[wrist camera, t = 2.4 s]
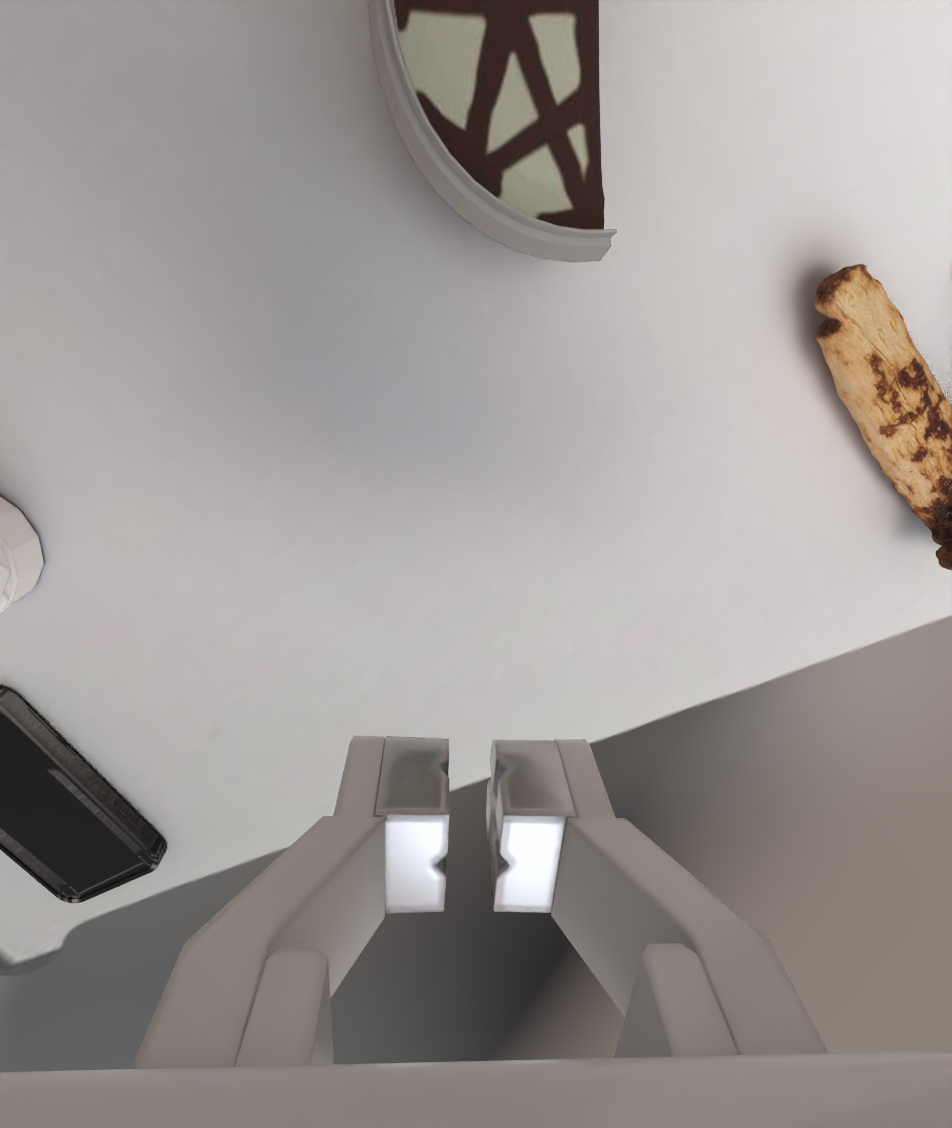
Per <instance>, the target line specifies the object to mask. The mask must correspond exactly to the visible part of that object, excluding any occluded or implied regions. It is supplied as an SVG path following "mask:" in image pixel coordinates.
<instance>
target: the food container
mask: <svg viewBox="0 0 952 1128" xmlns="http://www.w3.org/2000/svg"><path fill="white" fill-rule="evenodd" d="M368 9H369V19H370V30H371V40H372V47H373V52H374V56H375V61H376V65H377V70H378V74H379V79H380V83H381V87H382V90H383V93H384V96H385V99H386V101H387V104H388V107H389V110H390V112H391V115H392V118H393V121H394V124H395V126H396V128H397V130H398V132H399V134H400V136H401V138H402V140H403V142H404V144H405V145H406V147H407V149H408V151H409V153H410V155H411V157H412V159H413V161H414V162H415V164H416V165H417V166H418V168H419V169H420V171H421V172H422V173H423V175H424V176H425V178H426V179H427V180H428V182H429V183H430V185H431V186H432V187H433V189H434V190H435V191H436V192H437V193H438V194H439V195H440V196H441V198H442V199H443V200H444V201H445V202H446V203H447V204H448V205H449V206H450V207H451V208H452V209H453V210H454V211H455V212H456V213H457V214H458V215H459V216H460V217H462V218H463V219H464V220H466V221H467V222H468V223H470V224H471V225H472V226H474V227H475V228H476V229H478V230H479V231H480V232H482V233H483V234H484V235H486V236H488V237H490V238H492V239H494V240H496V241H498V242H499V243H501V244H503V245H505V246H507V247H509V248H511V249H513V250H516V251H519V252H523V253H526V254H529V255H532V256H535V257H539V258H542V259H549V260H557V261H565V262H591V261H600V260H601V259H602V257H603V256H604V255H605V253H606V252H607V251H608V249H609V248H610V247H611V237H612V236H613V235H614V234H615V233H617V229H607V230H603V229H604V194H603V188H602V173H601V141H600V98H599V0H368Z"/></svg>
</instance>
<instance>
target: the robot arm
mask: <svg viewBox="0 0 952 1128" xmlns="http://www.w3.org/2000/svg"><path fill="white" fill-rule="evenodd" d="M448 765H449V739H441V738H416V737H391V736H387V737H380V736H354V737H353V738H352V740H351V742H350V746H349V750H348V754H347V759H346V763H345V767H344V772H343V776H342V780H341V785H340V789H339V793H338V798H337V802H336V806H335V811H334V815H333V816H323V817H322V818H321V819H320V820H319V821H317V822H316V823H315V824H314V825H313V826H312V827H311V828H310V829H309V830H308V831H307V832H305V833H304V834H303V835H302V836H301V837H300V838H299V839H298V840H297V841H296V842H295V843H293V844H292V845H291V846H290V847H289V848H288V849H287V850H286V851H285V852H284V853H283V854H281V855H280V856H279V857H278V858H277V859H276V860H275V861H274V862H273V863H272V864H271V865H269V866H268V867H267V868H266V869H265V870H264V871H263V872H262V873H261V874H260V875H259V876H258V877H256V878H255V879H254V880H253V881H252V882H251V883H250V884H249V885H248V886H247V887H246V888H244V889H243V890H242V891H241V892H240V893H239V894H238V895H237V896H236V897H235V898H234V899H232V900H231V901H230V902H229V903H228V904H227V905H226V906H225V907H224V908H223V909H222V910H220V912H218V913H217V914H216V915H215V916H214V917H213V918H212V919H211V920H210V921H209V922H207V923H206V924H205V925H204V926H203V927H202V928H201V929H200V930H199V931H198V932H196V933H195V934H194V935H193V936H192V937H191V938H190V939H189V940H188V941H187V942H186V943H185V944H184V946H183V948H182V950H181V953H180V955H179V957H178V960H177V962H176V964H175V967H174V969H173V971H172V974H171V976H170V978H169V981H168V983H167V985H166V988H165V990H164V992H163V995H162V997H161V999H160V1002H159V1004H158V1006H157V1009H156V1011H155V1013H154V1016H153V1018H152V1020H151V1023H150V1025H149V1027H148V1030H147V1032H146V1034H145V1037H144V1039H143V1041H142V1044H141V1046H140V1048H139V1051H138V1053H137V1055H136V1058H135V1060H134V1062H133V1065H132V1067H131V1069H124V1070H81V1071H39V1072H0V1128H952V1050H933V1051H891V1052H890V1051H889V1052H888V1051H887V1052H844V1053H829V1052H828V1050H827V1048H826V1047H825V1044H824V1043H823V1041H822V1039H821V1037H820V1035H819V1033H818V1032H817V1029H816V1027H815V1026H814V1024H813V1022H812V1020H811V1018H810V1016H809V1015H808V1012H807V1010H806V1009H805V1007H804V1005H803V1003H802V1001H801V999H800V997H799V995H798V993H797V992H796V990H795V988H794V986H793V984H792V982H791V980H790V978H789V977H788V975H787V973H786V971H785V969H784V967H783V965H782V963H781V961H780V960H779V958H778V956H777V954H776V952H775V950H774V948H773V946H772V944H771V942H770V941H769V940H768V939H767V938H766V937H765V936H764V935H762V934H761V933H760V932H759V931H758V930H757V929H755V928H754V927H753V926H752V925H751V924H749V923H748V922H747V921H746V920H745V919H744V918H742V917H741V916H740V915H739V914H738V913H736V912H735V911H734V910H733V909H732V908H730V907H729V906H728V905H727V904H726V903H725V902H723V901H722V900H721V899H720V898H719V897H717V896H716V895H715V894H714V893H713V892H712V891H710V890H709V889H708V888H707V887H706V886H704V885H703V884H702V883H701V882H700V881H698V880H697V879H696V878H695V877H694V876H692V875H691V874H690V873H689V872H688V871H687V870H685V869H684V868H683V867H682V866H681V865H679V864H678V863H677V862H676V861H675V860H674V859H672V858H671V857H670V856H669V855H668V854H667V853H665V852H664V851H663V850H662V849H661V848H659V847H658V846H657V845H656V844H655V843H654V842H652V841H651V840H650V839H649V838H648V837H646V836H645V835H644V834H643V833H642V832H640V831H639V830H638V829H637V828H636V827H635V826H633V825H632V824H631V823H630V822H629V821H627V820H626V819H622V818H619V819H618V818H615V815H614V813H613V810H612V807H611V804H610V801H609V799H608V796H607V793H606V790H605V787H604V785H603V782H602V779H601V776H600V774H599V770H598V768H597V765H596V762H595V759H594V757H593V754H592V751H591V748H590V745H589V743H588V742H587V741H586V740H585V739H581V740H554V741H552V740H493V741H492V746H491V755H490V765H491V776H492V778H491V779H490V780H489V782H488V789H487V810H486V811H487V812H486V821H487V837H488V845H489V846H490V847H491V848H492V855H491V867H490V874H491V885H492V896H493V905H494V911H514V912H515V911H517V912H552V917H553V918H554V920H555V921H556V923H557V924H558V925H559V927H560V928H561V930H562V931H563V932H564V933H565V935H566V936H567V938H568V939H569V941H570V942H571V943H572V945H573V946H574V948H575V949H576V950H577V952H578V953H579V954H580V956H581V957H582V959H583V960H584V961H585V963H586V964H587V965H588V967H589V968H590V970H591V971H592V972H593V974H594V975H595V976H596V978H597V979H598V981H599V982H600V983H601V985H602V986H603V988H604V989H605V990H606V992H607V993H608V994H609V996H610V997H611V999H612V1000H613V1001H614V1003H615V1004H616V1005H617V1007H618V1008H619V1009H620V1011H621V1012H622V1014H623V1015H624V1016H625V1021H624V1024H623V1028H622V1032H621V1036H620V1040H619V1043H618V1047H617V1051H616V1054H615V1058H597V1059H595V1058H594V1059H554V1060H515V1061H514V1060H510V1061H467V1062H425V1063H382V1064H341V1065H334V1064H333V1045H332V1024H331V1006H330V998H331V996H332V995H333V993H334V992H335V990H336V989H337V987H338V986H339V984H340V983H341V982H342V980H343V979H344V977H345V975H346V974H347V973H348V971H349V970H350V968H351V966H352V965H353V964H354V962H355V960H356V959H357V958H358V956H359V954H360V953H361V952H362V950H363V949H364V947H365V946H366V944H367V943H368V941H369V940H370V938H371V936H372V935H373V933H374V932H375V931H376V929H377V927H378V926H379V925H380V923H381V922H382V920H383V919H384V914H385V913H405V912H433V911H444V896H445V882H446V854H447V849H448V829H449V777H448Z"/></svg>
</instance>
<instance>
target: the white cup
mask: <svg viewBox="0 0 952 1128" xmlns="http://www.w3.org/2000/svg"><path fill="white" fill-rule="evenodd" d="M43 565H44V562H43V557H42V552H41V547H40V542H39V537H38V535H37V534H36V532H35V531H34V529H33V528H32V527H31V525H30V524H29V522H28V521H27V519H26V518H25V517H24V515H23V514H22V512H21V511H20V510H19V509H18V508H16V507H15V506H13V505H12V504H10V503H9V502H8V501H6V500H5V499H3V498H2V497H0V613H1V612H3V611H4V610H5V609H6V608H7V607H8V606H10V605H11V604H13V603H14V602H15V601H17V600H18V599H20V598H21V597H22V596H24V595H25V594H27V593H28V592H29V591H31V590H32V589H34V588H35V586H36V584H37V581H38V578H39V575H40V573H41V570H42V567H43Z"/></svg>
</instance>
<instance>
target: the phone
mask: <svg viewBox="0 0 952 1128" xmlns="http://www.w3.org/2000/svg"><path fill="white" fill-rule="evenodd" d="M166 848H167V847H166V844H165V842H164V841H163V839H162V838H161V837H160V836H159V835H158V834H157V833H156V832H155V831H154V830H153V829H152V828H151V827H150V826H149V825H148V824H147V823H146V822H145V821H144V820H143V819H142V818H140V817H139V816H138V815H137V814H136V813H135V812H134V811H133V810H132V809H131V808H130V807H129V806H128V805H127V804H126V803H125V802H124V801H123V800H122V799H121V798H120V797H119V796H118V795H117V794H116V793H115V792H114V791H113V790H112V789H111V788H110V787H109V786H108V785H107V784H106V783H105V782H104V781H103V780H102V779H101V778H100V777H99V776H98V775H97V774H96V773H95V772H94V771H93V770H92V769H91V768H90V767H89V766H88V765H87V764H86V763H85V762H84V761H83V760H82V759H81V758H80V757H79V756H78V755H77V754H76V753H75V752H74V751H73V750H72V749H71V748H70V747H69V746H68V745H67V744H66V743H65V742H64V741H63V740H62V739H61V738H60V737H59V736H58V735H57V734H56V733H55V732H54V731H53V730H52V729H51V728H50V727H49V726H48V725H47V724H46V723H45V722H44V721H43V720H42V719H41V718H40V717H39V716H38V715H37V714H36V713H35V712H34V711H33V710H32V709H31V708H30V707H29V706H28V705H27V704H26V703H25V702H24V701H23V700H22V699H21V698H19V697H18V696H17V695H16V694H15V693H13V692H12V691H9V690H7V689H4V688H0V850H2V851H3V852H4V853H5V854H6V855H7V856H9V857H10V858H11V859H12V860H13V861H15V862H16V863H17V864H18V865H19V866H20V867H22V868H23V869H24V870H25V871H26V872H28V873H29V874H30V875H31V876H32V877H33V878H35V879H36V880H37V881H38V882H39V883H41V884H42V885H43V886H44V887H45V888H47V889H48V890H49V891H50V892H51V893H52V894H54V895H55V896H56V897H57V898H59V899H60V900H62V901H65V902H69V903H80V902H84V901H86V900H88V899H90V898H93V897H95V896H97V895H100V894H102V893H104V892H107V891H109V890H111V889H113V888H116V887H118V886H120V885H123V884H125V883H127V882H130V881H132V880H134V879H136V878H139V877H141V876H143V875H146V874H148V873H150V872H152V871H154V870H155V869H156V868H157V867H158V865H159V863H160V861H161V860H162V858H163V856H164V854H165V852H166Z"/></svg>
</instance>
